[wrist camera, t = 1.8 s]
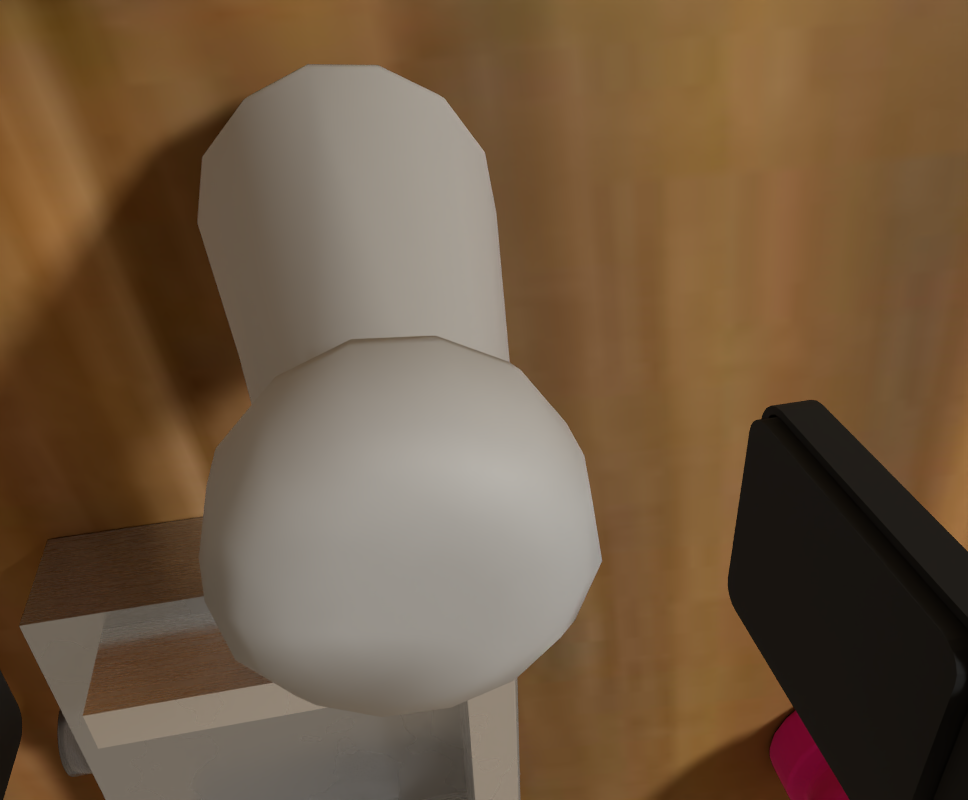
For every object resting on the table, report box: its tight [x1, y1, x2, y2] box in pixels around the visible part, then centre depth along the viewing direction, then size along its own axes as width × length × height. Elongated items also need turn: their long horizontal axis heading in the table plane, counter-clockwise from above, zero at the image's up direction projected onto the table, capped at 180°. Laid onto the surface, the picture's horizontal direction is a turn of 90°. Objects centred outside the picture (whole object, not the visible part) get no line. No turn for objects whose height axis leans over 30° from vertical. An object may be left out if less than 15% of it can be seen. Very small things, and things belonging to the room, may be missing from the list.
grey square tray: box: [19, 517, 520, 800], centre depth 25 cm, size 12×13×6 cm
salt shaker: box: [197, 64, 602, 717], centre depth 14 cm, size 6×6×13 cm
